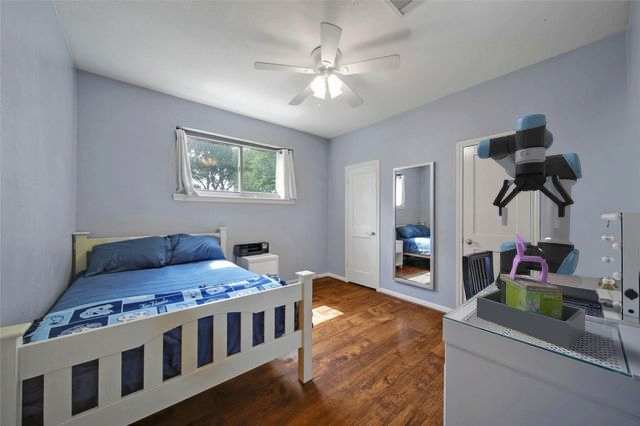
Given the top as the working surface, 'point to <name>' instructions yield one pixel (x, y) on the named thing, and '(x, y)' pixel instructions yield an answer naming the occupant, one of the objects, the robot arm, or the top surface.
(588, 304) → the top surface
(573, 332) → the crate
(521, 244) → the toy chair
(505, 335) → the top surface
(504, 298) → the tea box
